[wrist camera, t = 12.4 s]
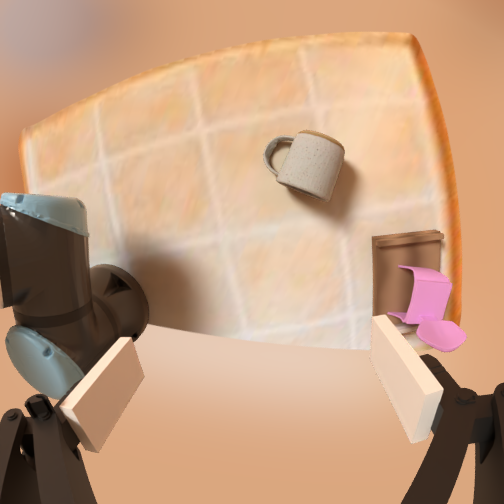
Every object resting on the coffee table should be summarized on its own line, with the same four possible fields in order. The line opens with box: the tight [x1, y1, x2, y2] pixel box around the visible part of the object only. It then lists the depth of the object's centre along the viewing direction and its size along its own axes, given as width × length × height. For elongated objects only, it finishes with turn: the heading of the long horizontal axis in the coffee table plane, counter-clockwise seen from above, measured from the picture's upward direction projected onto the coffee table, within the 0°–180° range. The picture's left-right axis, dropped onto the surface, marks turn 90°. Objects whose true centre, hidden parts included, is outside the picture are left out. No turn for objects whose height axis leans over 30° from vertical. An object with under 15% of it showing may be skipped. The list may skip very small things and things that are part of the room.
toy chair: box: [387, 265, 467, 352], centre depth 36 cm, size 8×9×15 cm
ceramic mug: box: [263, 130, 345, 202], centre depth 38 cm, size 11×8×8 cm
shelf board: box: [372, 230, 444, 334], centre depth 43 cm, size 12×16×4 cm
